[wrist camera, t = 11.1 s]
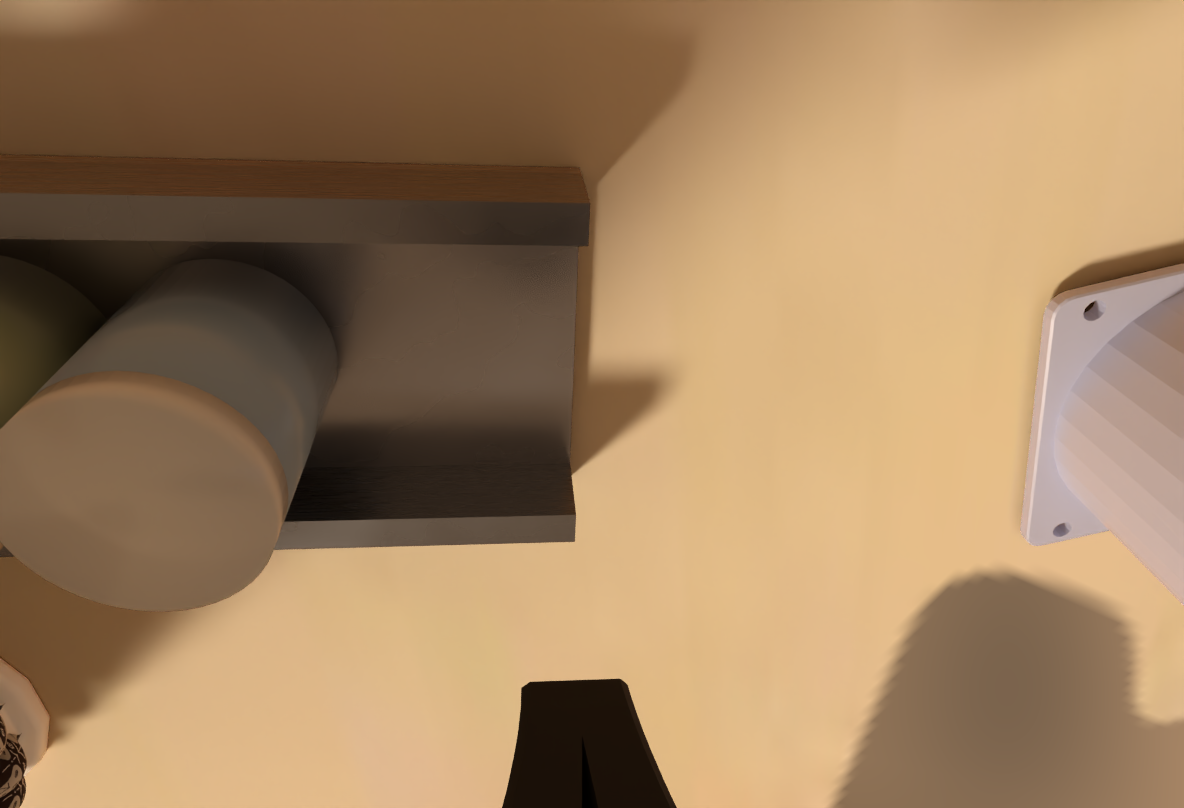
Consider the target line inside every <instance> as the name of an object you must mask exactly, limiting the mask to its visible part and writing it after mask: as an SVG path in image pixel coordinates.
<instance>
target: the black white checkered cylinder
mask: <svg viewBox="0 0 1184 808" xmlns="http://www.w3.org/2000/svg"><path fill="white" fill-rule="evenodd" d="M49 722H50V715H49V714H48V712H47V710H46V709H45V707H44V705H43V703H42V702H41V700H40V698H39V696H38V695H37V693H36V691H35V690H34V688H33V686H32V684H31V683H30V681H29V679H27V678H26V677H25V676H23V675H22V674H21V673H19V672H18V671H17V670H16V669H14V668H13V667H12V666H10V665H9V664H8V663H6V662H5V661H4V660H3V659H1V658H0V808H19V807H20V806H21V804H22V802H23V800H24V797H25V793H26V783H25V779H24V777H25V776H26V775H27V774H28V773H29V772H30V771H31V770H32V769H33V767H34V766H35V765H36V764H37V763H38V762H39V761H40V760H41V759H42V758H43V756H44V754H45V752H46V750H47V743H48V733H49Z"/></svg>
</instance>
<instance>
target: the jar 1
mask: <svg viewBox="0 0 1184 808" xmlns="http://www.w3.org/2000/svg"><path fill="white" fill-rule="evenodd" d="M106 321H107V320H106V318H105V317H104V315H103V314H102V313H101V312H100V311H99V310H98V309H97V308H96V306H95V305H94V304H93V303H92V302H91V301H90V300H88V299H87V298H86V297H85V296H84V295H83V294H82V293H81V292H79V291H78V290H77V289H75V288H74V287H73V286H71V285H70V284H69V283H67V282H65V281H64V280H62V279H61V278H59V277H57V276H56V275H54V274H52V273H50V272H48V271H46V270H44V269H42V268H40V267H37V266H35V265H32V264H30V263H27V262H24V261H21V260H18V259H14V258H10V257H6V256H1V255H0V429H1V428H2V427H3V426H4V425H5V424H6V423H7V422H8V421H9V420H10V419H11V418H12V417H13V416H14V415H15V414H16V413H17V412H18V411H19V410H20V409H21V408H22V407H23V406H24V405H25V404H26V403H27V402H28V401H29V400H30V399H31V398H32V397H33V396H34V395H35V394H36V393H37V391H38V390H39V389H40V388H41V387H42V386H43V385H44V384H45V383H46V382H47V381H48V380H49V379H50V378H51V377H52V376H53V375H54V374H55V373H56V372H57V371H58V370H59V369H60V368H61V367H62V366H63V365H64V364H65V363H66V362H67V361H68V360H69V359H70V358H71V357H72V356H73V355H74V354H75V353H76V352H77V351H78V350H79V349H80V348H81V347H82V346H83V345H84V344H85V343H86V342H87V341H88V340H89V339H90V338H91V337H92V336H93V335H94V334H95V333H96V332H97V331H98V330H99V329H100V327H101V326H102V325H103V324H104V323H105V322H106ZM3 546H4V545H3V544H2V542H1V541H0V550H1V549H2V547H3Z"/></svg>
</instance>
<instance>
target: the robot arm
mask: <svg viewBox="0 0 1184 808" xmlns="http://www.w3.org/2000/svg"><path fill="white" fill-rule="evenodd" d="M1094 301H1095V303H1094V305H1093V307H1092V308H1091V309H1090V310H1089V311H1087V312H1085V313H1084V311H1085V308H1086V307H1087V306H1088V305H1089V304H1090V303H1092V302H1094ZM1020 531H1021V535H1022V536H1023V537H1024V538H1025V539H1026V541H1027V542H1028V543H1029V544H1031V545H1034V546H1040V545H1047V544H1051V543H1056V542H1060V541H1064V540H1069V539H1073V538H1078V537H1082V536H1087V535H1091V534H1096V533H1100V532H1105V531H1110V532H1111V533H1112V534H1113V535H1114V536H1115V537H1116V538H1117V539H1118V540H1119V541H1120V542H1121V543H1122V544H1123V545H1124V546H1125V547H1126V548H1127V549H1128V550H1129V551H1130V552H1131V553H1132V554H1133V555H1134V556H1135V557H1136V558H1137V559H1138V560H1139V561H1140V562H1141V563H1142V564H1143V565H1144V566H1145V567H1146V568H1147V569H1148V570H1149V571H1150V572H1151V573H1152V574H1153V575H1154V576H1155V577H1156V578H1157V579H1158V580H1159V581H1160V582H1161V583H1162V584H1163V585H1164V586H1165V587H1166V588H1167V589H1168V590H1169V591H1170V592H1171V593H1172V594H1173V595H1174V596H1175V597H1176V598H1177V599H1178V600H1179V601H1180V602H1181V603H1182V604H1183V605H1184V263H1182V264H1178V265H1174V266H1169V267H1165V268H1161V269H1157V270H1152V271H1148V272H1144V273H1140V274H1135V275H1131V276H1127V277H1123V278H1118V279H1114V280H1110V281H1106V282H1101V283H1097V284H1093V285H1089V286H1084V287H1080V288H1076V289H1072V290H1067V291H1065V292H1062V293H1060V294H1058V295H1057V296H1055V297H1054V298H1053V299H1052V300H1051V301H1050V302H1049V304H1048V305H1047V306H1046V309H1045V312H1044V316H1043V325H1042V335H1041V344H1040V353H1039V362H1038V371H1037V381H1036V390H1035V399H1034V408H1033V417H1032V426H1031V436H1030V445H1029V454H1028V463H1027V472H1026V482H1025V491H1024V500H1023V509H1022V518H1021V528H1020ZM502 808H677V807H676V805H675V803H674V801H673V799H672V797H671V795H670V793H669V791H668V788H667V786H666V784H665V782H664V780H663V777H662V775H661V773H660V770H659V768H658V766H657V763H656V761H655V759H654V756H653V754H652V752H651V750H650V747H649V745H648V742H647V740H646V737H645V735H644V732H643V729H642V727H641V724H640V721H639V719H638V716H637V713H636V710H635V707H634V704H633V701H632V698H631V695H630V692H629V688H628V685H627V684H626V683H625V682H624V681H622V680H621V679H601V680H573V681H544V682H529V683H528V684H527V685H525V686H524V687H522V689H521V712H520V721H519V730H518V737H517V743H516V748H515V754H514V759H513V764H512V768H511V773H510V778H509V783H508V787H507V791H506V795H505V799H504V803H503V807H502Z"/></svg>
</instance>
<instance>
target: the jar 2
mask: <svg viewBox="0 0 1184 808" xmlns="http://www.w3.org/2000/svg"><path fill="white" fill-rule="evenodd" d="M337 368H338V361H337V351H336V347H335V342H334V339H333V337H332V334H331V332H330V329H329V327H328V326H327V324H326V322H325V320H324V318H323V317H322V316H321V314H320V313H319V311H318V310H317V309H316V307H315V306H314V305H313V304H312V303H311V302H310V301H309V300H308V299H307V297H305V296H304V295H303V294H302V293H301V292H300V291H298V290H297V289H296V288H295V287H293V286H292V285H291V284H289V283H288V282H286V281H285V280H283V279H282V278H280V277H278V276H276V275H274V274H272V273H271V272H268V271H266V270H263V269H261V268H259V267H256V266H253V265H249V264H246V263H243V262H238V261H232V260H227V259H196V260H191V261H185V262H181V263H178V264H175V265H172V266H169V267H167V268H165V269H163V270H161V271H159V272H158V273H156V274H155V275H153V276H152V277H151V278H149V279H148V280H147V281H146V282H145V283H144V284H143V285H142V286H141V287H140V288H139V289H138V290H137V291H136V292H135V293H134V294H133V295H132V296H131V297H130V298H129V299H128V300H127V301H126V302H125V303H124V304H123V305H122V306H121V307H120V308H119V309H118V310H117V311H116V312H115V313H114V314H113V315H112V316H111V317H110V318H109V319H108V320H107V321H106V322H105V323H104V324H103V325H102V326H101V327H100V329H99V330H98V331H97V332H96V333H95V334H94V335H93V336H92V337H91V338H90V339H89V340H88V341H87V342H86V343H85V344H84V345H83V346H82V347H81V348H80V349H79V350H78V351H77V352H76V353H75V354H74V355H73V356H72V357H71V358H70V359H69V360H68V361H67V362H66V363H65V364H64V365H63V366H62V367H61V368H60V369H59V370H58V371H57V372H56V373H55V374H54V375H53V376H52V377H51V378H50V379H49V380H48V381H47V382H46V383H45V384H44V385H43V386H42V387H41V388H40V389H39V390H38V391H37V393H36V394H35V395H34V396H33V397H32V398H31V399H30V400H29V401H28V402H27V403H26V404H25V405H24V406H23V407H22V408H21V409H20V410H19V411H18V412H17V413H16V414H15V415H14V416H13V417H12V418H11V419H10V420H9V421H8V422H7V423H6V424H5V425H4V426H3V427H2V428H1V429H0V541H1V542H2V544H3V545H4V546H5V547H6V548H7V549H8V550H9V551H10V552H11V553H12V554H13V555H14V556H15V557H16V558H17V559H18V560H19V561H20V562H22V563H23V564H24V565H25V566H26V567H28V568H29V569H30V570H32V571H33V572H35V573H36V574H38V575H39V576H41V577H42V578H44V579H45V580H47V581H49V582H51V583H52V584H54V585H56V586H58V587H60V588H62V589H64V590H66V591H68V592H71V593H73V594H75V595H77V596H80V597H83V598H86V599H89V600H92V601H94V602H98V603H102V604H106V605H109V606H113V607H119V608H124V609H130V610H139V611H159V612H168V611H180V610H188V609H193V608H199V607H203V606H206V605H210V604H213V603H216V602H219V601H221V600H223V599H226V598H228V597H230V596H232V595H234V594H235V593H237V592H239V591H241V590H242V589H244V588H245V587H246V586H247V585H249V584H250V583H251V582H253V580H254V579H255V578H256V577H257V576H258V575H259V574H260V573H261V572H262V570H263V569H264V568H265V566H266V565H267V563H268V562H269V559H270V557H271V555H272V552H273V550H274V547H275V545H276V542H277V539H278V537H279V534H280V531H281V528H282V526H283V523H284V520H285V518H286V515H287V512H288V510H289V507H290V504H291V501H292V499H293V496H294V493H295V491H296V488H297V485H298V483H299V480H300V477H301V474H302V472H303V469H304V466H305V464H306V461H307V458H308V455H309V453H310V450H311V447H312V445H313V442H314V439H315V437H316V434H317V431H318V428H319V426H320V423H321V420H322V418H323V415H324V412H325V409H326V407H327V404H328V401H329V399H330V396H331V393H332V391H333V388H334V385H335V381H336V377H337Z"/></svg>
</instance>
